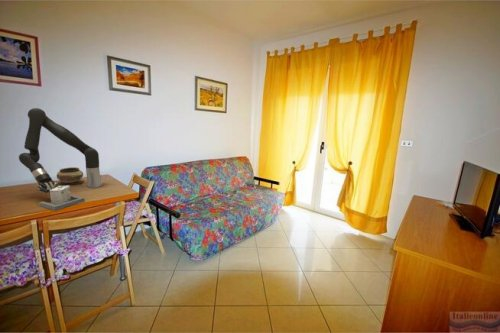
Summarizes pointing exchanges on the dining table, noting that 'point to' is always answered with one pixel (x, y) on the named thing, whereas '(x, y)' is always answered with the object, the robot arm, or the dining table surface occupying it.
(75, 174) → the ceramic bowl
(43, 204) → the charcoal bay
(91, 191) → the dining table surface
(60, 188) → the light bulb box
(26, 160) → the robot arm
